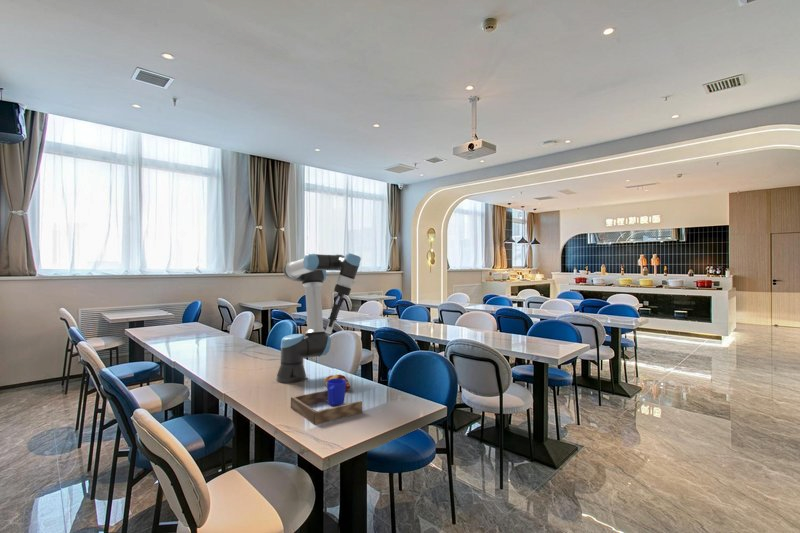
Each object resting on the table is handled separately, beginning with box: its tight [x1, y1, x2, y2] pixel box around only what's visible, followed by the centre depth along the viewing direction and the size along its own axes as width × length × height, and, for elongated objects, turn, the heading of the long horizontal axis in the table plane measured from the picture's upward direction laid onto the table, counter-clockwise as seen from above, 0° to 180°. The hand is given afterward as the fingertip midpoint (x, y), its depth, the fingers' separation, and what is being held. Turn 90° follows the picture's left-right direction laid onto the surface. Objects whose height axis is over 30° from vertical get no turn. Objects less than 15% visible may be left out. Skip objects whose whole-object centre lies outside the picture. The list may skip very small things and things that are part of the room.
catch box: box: [290, 389, 363, 425], centre depth 158 cm, size 21×22×4 cm
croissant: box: [324, 374, 351, 392], centre depth 191 cm, size 21×10×8 cm, turn 44°
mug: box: [326, 379, 346, 407], centre depth 164 cm, size 8×12×10 cm
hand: (328, 333), depth 179 cm, fingers closed
